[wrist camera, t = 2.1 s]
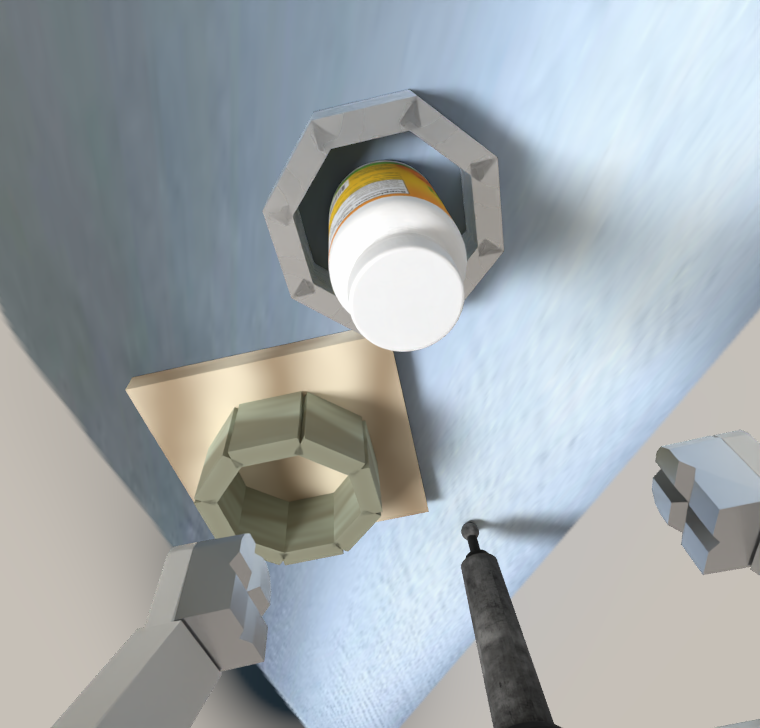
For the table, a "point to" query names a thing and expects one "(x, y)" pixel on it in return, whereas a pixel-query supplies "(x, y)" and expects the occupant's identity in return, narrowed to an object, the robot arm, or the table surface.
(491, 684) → the microphone
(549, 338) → the table surface
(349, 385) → the socket board
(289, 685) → the table surface
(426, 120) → the holder ring
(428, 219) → the supplement bottle
